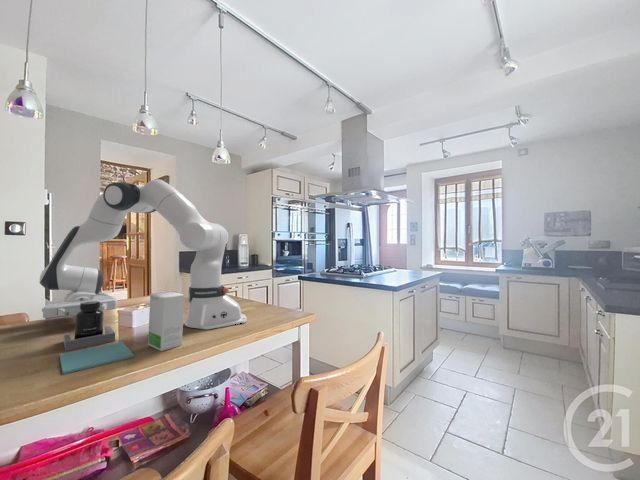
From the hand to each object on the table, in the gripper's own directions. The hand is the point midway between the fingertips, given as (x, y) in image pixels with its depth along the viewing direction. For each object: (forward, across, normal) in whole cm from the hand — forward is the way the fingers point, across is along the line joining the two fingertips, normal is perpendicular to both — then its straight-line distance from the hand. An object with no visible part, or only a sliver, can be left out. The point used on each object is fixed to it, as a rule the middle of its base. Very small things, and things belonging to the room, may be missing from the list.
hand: (84, 311), depth 94 cm
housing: (+12, 0, +7) cm, 14 cm away
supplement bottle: (+12, 0, +7) cm, 14 cm away
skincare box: (+33, +16, +7) cm, 37 cm away
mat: (+29, 0, +7) cm, 30 cm away
